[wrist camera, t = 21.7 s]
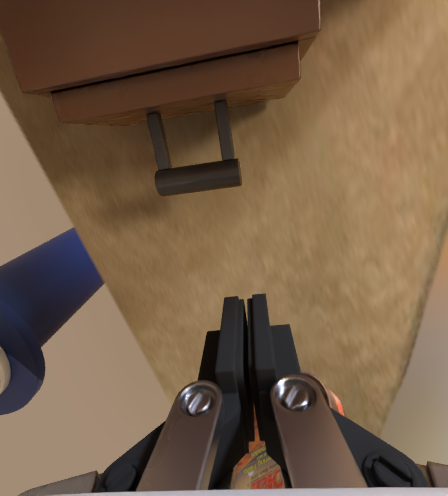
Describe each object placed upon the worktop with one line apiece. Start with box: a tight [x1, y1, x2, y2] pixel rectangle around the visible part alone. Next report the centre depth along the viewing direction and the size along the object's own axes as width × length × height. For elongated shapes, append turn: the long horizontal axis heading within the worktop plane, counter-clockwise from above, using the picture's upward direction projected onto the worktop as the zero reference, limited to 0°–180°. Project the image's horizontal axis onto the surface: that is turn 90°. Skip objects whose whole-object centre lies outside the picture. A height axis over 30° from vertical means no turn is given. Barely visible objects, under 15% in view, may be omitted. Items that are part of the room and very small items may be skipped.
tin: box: [235, 371, 347, 490], centre depth 24 cm, size 15×3×8 cm, turn 138°
